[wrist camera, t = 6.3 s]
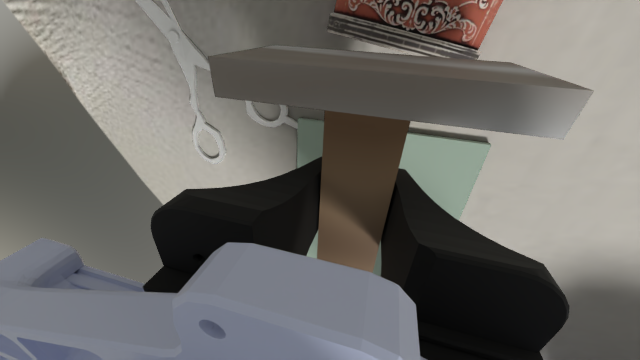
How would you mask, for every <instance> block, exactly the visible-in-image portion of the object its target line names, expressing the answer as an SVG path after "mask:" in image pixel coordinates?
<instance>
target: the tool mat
mask: <svg viewBox="0 0 640 360" xmlns="http://www.w3.org/2000/svg"><path fill="white" fill-rule="evenodd" d="M323 134H324V121H321V120H314V119H306V118H298V138H297V168H299V167H301V166H303V165H305V164H307V163H309V162H311V161H313V160H315V159H317V158H319V157H322V153H323ZM490 147H491V144H490V143H486V142H478V141H471V140H464V139H456V138H449V137H441V136H434V135H426V134H419V133H411V132H407V136H406V140H405V144H404V149H403V153H402V157H401V161H400V165H399V168H401V169H405V170H406V171H407V172H408V173H409V174H410V176H411V177H412V178H413V179H414V181H415V182H416V183H417V184H418V185H419V186H420V187H421V189H422V190H423V191H424V192H425V193H426V194H427V195H428V196H429V197H430V198H431V199H432V200H433V201H434V202H435V203H437V204H438V205H439V206H440V207H441V208H442V209H444V210H445V211H446V212H448V213H449V214H450V215H451V216H453V217H454V218H456V219H457V220H458V221H459V219H460V216H461V214H462V212H463V209H464V207H465V205H466V202H467V200H468V198H469V195H470V193H471V191H472V188H473V186H474V184H475V181H476V179H477V177H478V174H479V172H480V170H481V168H482V165H483V163H484V161H485V158H486V156H487V154H488V151H489V149H490ZM317 246H318V231H317V233H316V235H315V237H314V240H313V242H312V244H311V246H310V248H309V251H308V253H307V257H312V258H316V259H317ZM373 274H376V275H378V276H380V277H381V241H380V245H379V249H378V253H377V257H376V261H375V265H374V269H373Z"/></svg>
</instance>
